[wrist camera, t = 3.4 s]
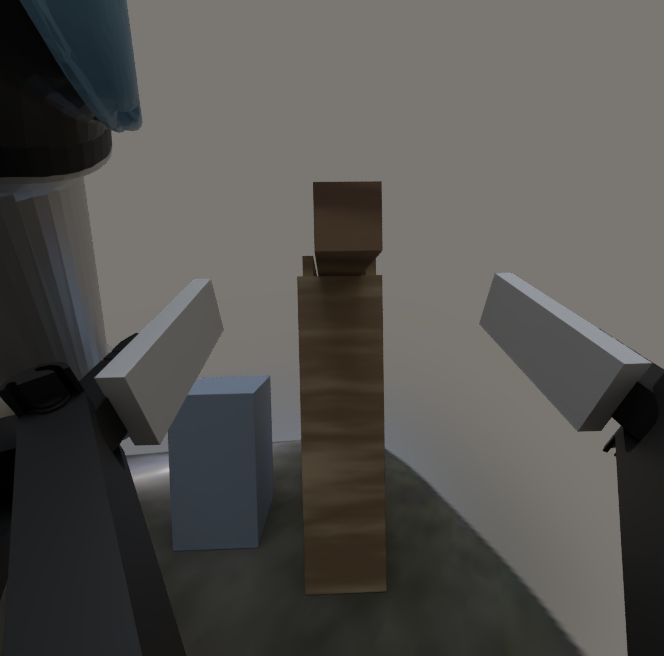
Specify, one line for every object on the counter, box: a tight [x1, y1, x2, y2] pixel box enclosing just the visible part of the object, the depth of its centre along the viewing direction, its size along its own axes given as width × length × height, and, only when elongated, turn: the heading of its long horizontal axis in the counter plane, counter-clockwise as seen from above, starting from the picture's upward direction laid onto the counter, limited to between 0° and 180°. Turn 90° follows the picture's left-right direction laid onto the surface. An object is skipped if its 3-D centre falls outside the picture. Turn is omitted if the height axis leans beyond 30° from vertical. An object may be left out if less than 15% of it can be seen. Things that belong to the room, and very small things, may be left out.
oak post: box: [297, 256, 387, 595], centre depth 34 cm, size 14×8×33 cm, turn 1°
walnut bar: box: [313, 182, 382, 276], centre depth 29 cm, size 24×4×4 cm, turn 1°
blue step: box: [168, 376, 274, 551], centre depth 38 cm, size 10×10×18 cm
